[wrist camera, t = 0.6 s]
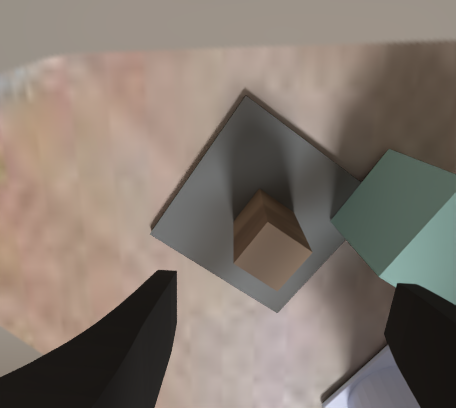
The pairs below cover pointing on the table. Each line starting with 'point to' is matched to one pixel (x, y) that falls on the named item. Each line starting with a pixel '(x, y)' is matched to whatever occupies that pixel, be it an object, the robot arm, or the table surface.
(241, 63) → the table surface
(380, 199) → the mint green cube
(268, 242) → the peg stand
